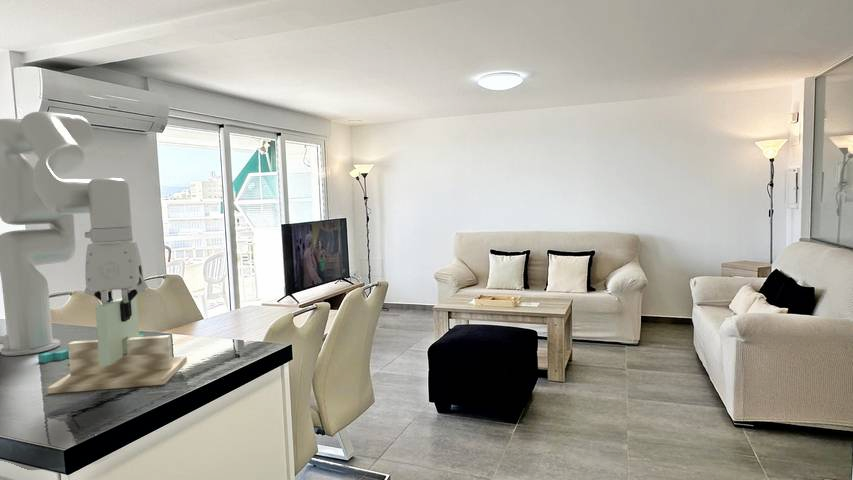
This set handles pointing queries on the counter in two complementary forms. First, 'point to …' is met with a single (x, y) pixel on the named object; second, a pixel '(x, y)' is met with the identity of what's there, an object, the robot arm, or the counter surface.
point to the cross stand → (120, 365)
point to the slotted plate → (115, 330)
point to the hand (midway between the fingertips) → (119, 320)
